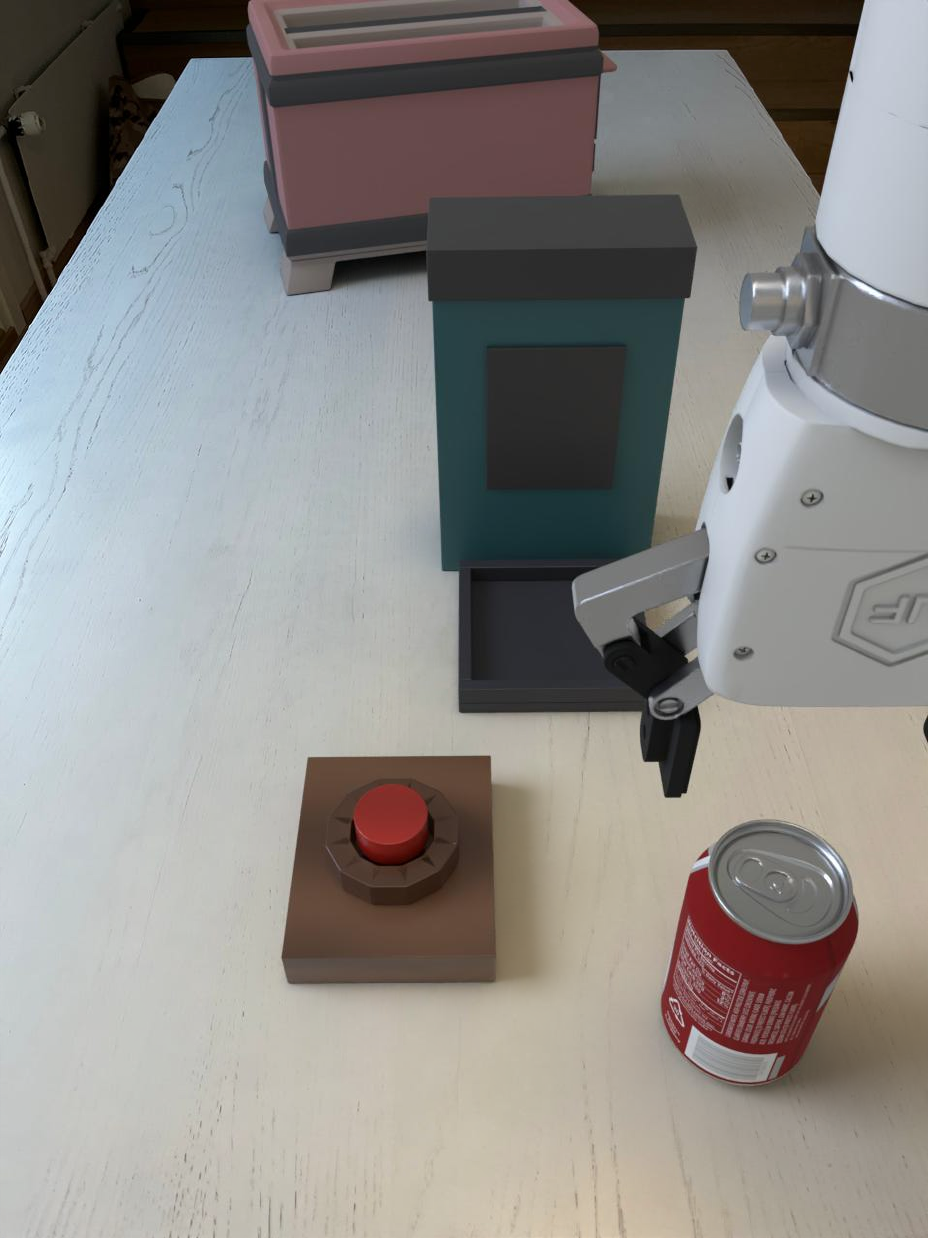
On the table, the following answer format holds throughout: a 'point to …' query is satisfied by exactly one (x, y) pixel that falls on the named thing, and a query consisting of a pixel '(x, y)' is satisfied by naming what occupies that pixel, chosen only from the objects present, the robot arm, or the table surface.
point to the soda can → (757, 951)
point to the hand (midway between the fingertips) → (806, 763)
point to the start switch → (393, 878)
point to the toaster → (414, 116)
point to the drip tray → (531, 641)
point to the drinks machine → (554, 369)
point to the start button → (391, 824)
